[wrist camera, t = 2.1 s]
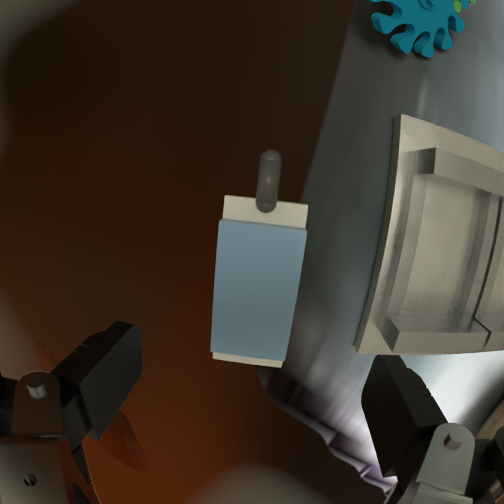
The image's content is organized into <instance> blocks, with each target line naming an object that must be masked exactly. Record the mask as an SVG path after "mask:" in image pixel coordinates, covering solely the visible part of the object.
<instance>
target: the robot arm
mask: <svg viewBox="0 0 504 504" xmlns="http://www.w3.org/2000/svg"><path fill="white" fill-rule="evenodd" d="M142 366H143V360H142V350H141V339H140V330H139V327H138V325H136V324H132V323H127V322H122V321H119V320H117V321H115V322H114V323H113V324H112V325H111V326H110V327H108V328H107V329H106V330H105V331H100V332H97V333H95V334H93V335H91V336H89V337H88V338H87V339H86V340H85V341H84V342H82V344H81V345H79V346H78V347H77V348H76V349H75V351H74V352H72V353H70V354H69V355H68V356H67V357H66V358H65V359H64V360H63V361H62V362H61V363H60V364H59V365H57V366H56V367H55V368H54V369H53V370H52V371H51V372H50V373H48V372H44V371H35V372H30V373H28V374H25V375H24V376H22V377H21V378H20V379H19V380H14V379H9V378H5V377H2V375H1V372H0V494H1V504H101V503H100V501H99V499H98V497H97V495H96V492H95V489H94V486H93V483H92V479H91V475H90V471H89V468H88V464H87V459H86V455H85V451H84V446H83V443H82V440H83V439H84V437H85V436H86V435H87V436H89V437H91V438H94V439H96V440H99V439H100V437H101V436H102V434H103V432H104V431H105V429H106V428H107V426H108V425H109V423H110V422H111V420H112V419H113V417H114V416H115V414H116V413H117V411H118V409H119V408H120V406H121V405H122V403H123V402H124V400H125V399H126V397H127V396H128V394H129V393H130V391H131V390H132V388H133V387H134V385H135V384H136V382H137V381H138V379H139V378H140V375H141V372H142ZM361 404H362V408H363V412H364V415H365V418H366V421H367V424H368V428H369V431H370V434H371V438H372V441H373V444H374V448H375V451H376V455H377V458H378V462H379V465H380V469H381V472H382V476H383V478H384V477H391V476H397V479H398V481H397V482H396V484H395V485H394V486H393V488H392V490H391V492H390V494H389V495H388V497H387V499H386V500H385V502H384V504H496V503H495V501H494V498H493V496H492V493H491V491H490V490H491V489H492V488H493V487H494V486H495V485H496V484H497V483H498V482H500V484H501V486H502V489H503V491H504V426H503V427H500V428H499V429H498V430H497V432H496V433H495V434H494V436H493V437H492V438H491V439H474V436H473V435H472V433H471V432H470V431H469V430H468V429H467V428H466V427H464V426H462V425H460V424H456V423H448V421H447V420H446V418H445V416H444V415H443V413H442V411H441V409H440V408H439V406H438V404H437V403H436V401H435V399H434V398H433V396H431V393H430V391H429V390H428V388H426V385H425V383H424V382H423V380H422V379H421V377H420V376H419V375H418V374H416V373H415V372H414V371H413V370H411V369H410V368H407V367H406V365H405V364H404V362H403V360H402V359H401V357H400V356H399V355H385V354H378V355H377V356H376V357H375V359H374V361H373V364H372V366H371V369H370V372H369V375H368V377H367V380H366V383H365V385H364V388H363V391H362V396H361Z"/></svg>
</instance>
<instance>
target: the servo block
mask: <svg viewBox="0 0 504 504" xmlns="http://www.w3.org/2000/svg"><path fill="white" fill-rule="evenodd" d="M281 163H282V159H281V156H280V154H279V153H278V152H277V151H275V150H267V151H265V152H264V153H263V154H262V155H261V158H260V165H259V174H258V183H257V192H256V198H250V197H241V196H231V195H225V200H224V210H223V218H222V219H221V220H220V221H219V230H218V242H217V255H216V268H215V282H214V297H213V314H212V331H211V352H213V358H214V359H220V360H226V361H233V362H240V363H247V364H255V365H263V366H272V367H282V362H283V361H285V358H286V353H287V348H288V342H289V337H290V332H291V327H292V321H293V316H294V310H295V305H296V299H297V293H298V287H299V282H300V275H301V269H302V263H303V257H304V250H305V243H306V237H307V230H306V229H305V226H306V219H307V212H308V205H307V204H300V203H292V202H284V201H277V198H278V189H279V181H280V172H281Z"/></svg>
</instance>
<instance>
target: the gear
mask: <svg viewBox="0 0 504 504" xmlns="http://www.w3.org/2000/svg"><path fill="white" fill-rule="evenodd" d="M369 1H373V2H379V1H386V2H388V3H389V4H391V5H392V7H393V10H394V11H393V14H392V15H391V16H390V17H389V16H387V15H384V14H381V13H374V14H372V15H371V20H372V23H373V26H374V28H375V30H376V31H379V32H381V33H384V34H388V33H390V32H391V31H392V30H393V29H394V28H395V27H396V26H398V25H400V24H406V31H405V32H404V33H400V34H395V35H393V36H392V38H391V42H392V44H393V45H394V46H395V47H396V48H397V49H398V50H400V51H402V52H404V53H406V54H408V53H409V52H410V51H411V50H412V46H413V43H414V41H415V39H416V38H417V37H418V36H419V35H420V34H421V33H422V37H421V38H420V39H419V40H418V41H417V42H416V43H415V45H414V51H415V52H417V53H419V54H421V55H423V56H425V57H430V58H431V57H432V56H433V53H434V50H433V41H434V43H435V46H437V47H439V48H441V49H443V50H446V49H449V48H451V47H452V40H451V38H450V36H449V32H448V26H449V28H450V29H451V30H453V31H456V32H458V33H460V32H461V31H462V30H463V29H464V27H465V22H464V21H463V20H462V19H461V18H460V17H459V16H458V15H457V14H456V12H460V11H461V9H462V8H463V9H467V8H468V4H469V2H470V3H472V4H474V3H475V2H476V0H369ZM436 32H437V33H436ZM435 34H436V35H435ZM434 37H435V38H434Z"/></svg>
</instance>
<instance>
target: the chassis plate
mask: <svg viewBox="0 0 504 504" xmlns="http://www.w3.org/2000/svg"><path fill="white" fill-rule="evenodd" d="M354 346H355V349H356V351H357V353H358V354H374V355H378V354H385V355H437V354H460V353H476V352H488V351H499V350H504V153H502V152H500V151H498V150H496V149H494V148H492V147H490V146H488V145H485V144H483V143H481V142H479V141H476V140H474V139H472V138H469V137H467V136H464V135H462V134H459V133H457V132H454V131H452V130H449V129H446V128H444V127H441V126H438V125H435V124H432V123H429V122H426V121H423V120H420V119H417V118H414V117H411V116H407V115H404V114H400V115H398V116H395V117H394V127H393V142H392V154H391V165H390V174H389V183H388V190H387V198H386V205H385V211H384V218H383V224H382V230H381V235H380V241H379V246H378V251H377V256H376V261H375V266H374V270H373V275H372V279H371V284H370V288H369V292H368V296H367V300H366V304H365V308H364V312H363V316H362V319H361V323H360V326H359V330H358V333H357V337H356V340H355V343H354Z"/></svg>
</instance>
